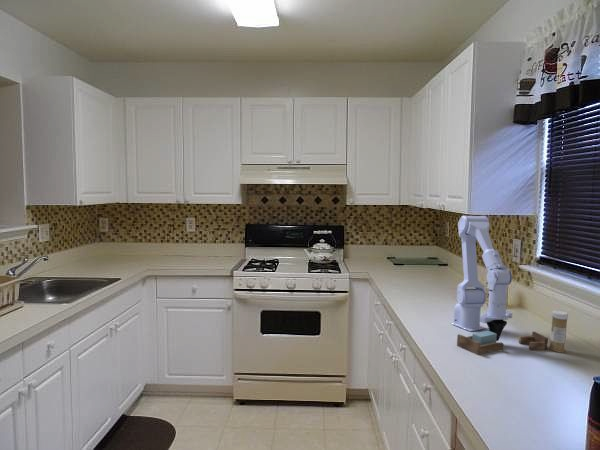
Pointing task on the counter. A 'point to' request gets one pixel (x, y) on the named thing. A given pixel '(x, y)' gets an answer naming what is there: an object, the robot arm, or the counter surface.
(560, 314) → the sprinkles bottle
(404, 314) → the counter surface
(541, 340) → the brown stepped block
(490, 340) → the pale teal block
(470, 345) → the endcap rail
